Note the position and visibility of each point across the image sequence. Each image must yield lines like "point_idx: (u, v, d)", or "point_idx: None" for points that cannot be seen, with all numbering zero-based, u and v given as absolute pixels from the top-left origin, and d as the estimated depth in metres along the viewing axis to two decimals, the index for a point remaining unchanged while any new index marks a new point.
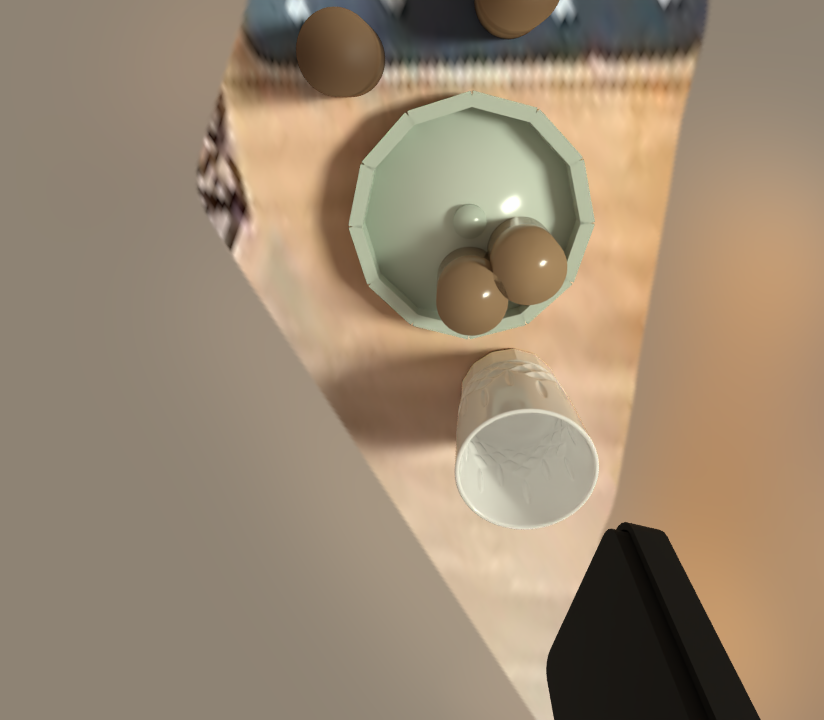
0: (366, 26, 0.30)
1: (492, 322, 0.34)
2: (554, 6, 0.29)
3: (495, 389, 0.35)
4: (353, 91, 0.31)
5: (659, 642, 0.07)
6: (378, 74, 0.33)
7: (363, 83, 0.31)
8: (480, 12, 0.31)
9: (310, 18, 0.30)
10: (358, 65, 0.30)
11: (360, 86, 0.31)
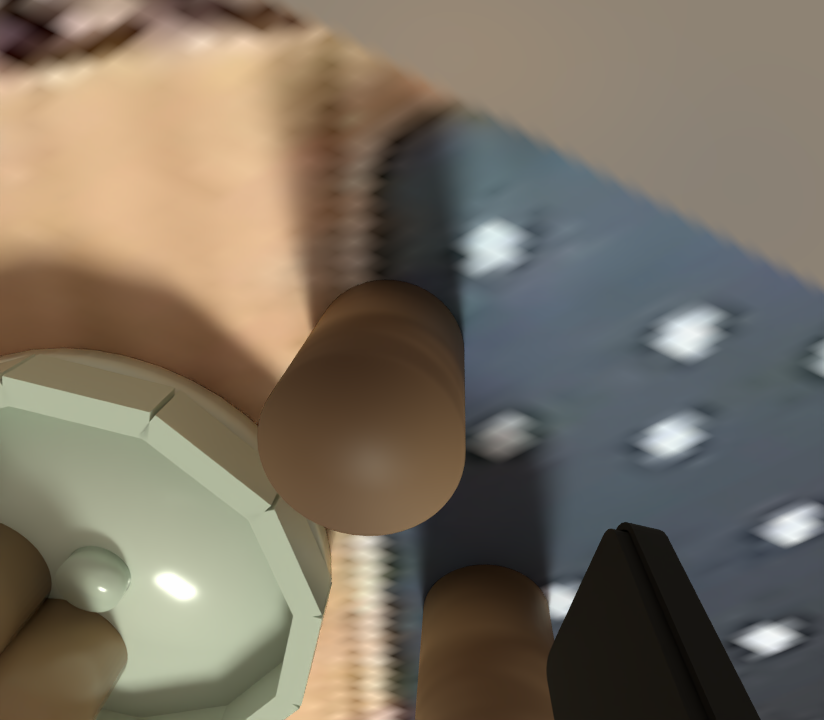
0: (420, 520, 0.12)
1: None
2: None
3: None
4: (274, 482, 0.12)
5: (659, 642, 0.07)
6: None
7: (293, 505, 0.12)
8: (456, 631, 0.17)
9: (440, 397, 0.11)
10: (334, 496, 0.12)
11: (287, 497, 0.12)
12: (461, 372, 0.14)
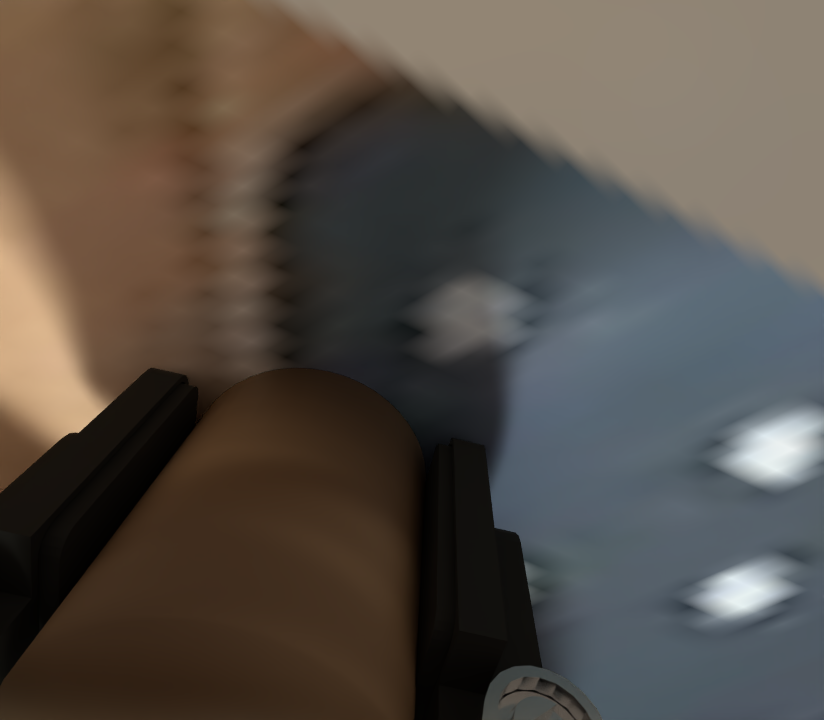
0: None
1: None
2: None
3: None
4: None
5: (440, 523, 0.08)
6: None
7: None
8: None
9: (355, 692, 0.05)
10: None
11: None
12: (413, 551, 0.08)
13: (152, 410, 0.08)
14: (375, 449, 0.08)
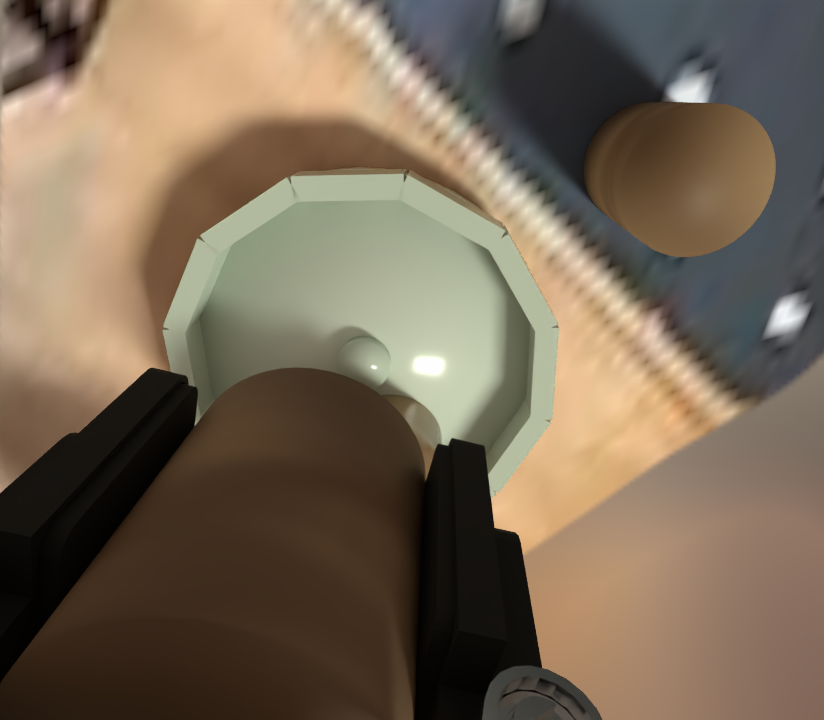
0: None
1: None
2: (700, 252, 0.17)
3: None
4: None
5: (440, 523, 0.08)
6: None
7: None
8: (604, 153, 0.19)
9: (354, 692, 0.05)
10: None
11: None
12: (413, 551, 0.08)
13: (152, 410, 0.08)
14: (375, 449, 0.08)
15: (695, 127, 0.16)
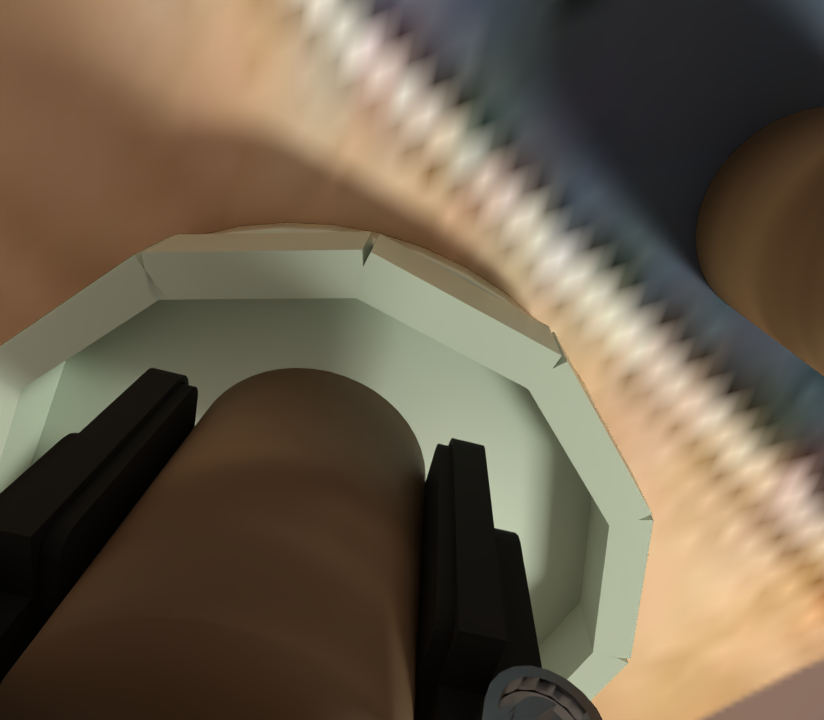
0: None
1: None
2: None
3: None
4: None
5: (440, 523, 0.08)
6: None
7: None
8: (770, 213, 0.09)
9: (354, 692, 0.05)
10: None
11: None
12: (413, 551, 0.08)
13: (152, 410, 0.08)
14: (375, 449, 0.08)
15: None
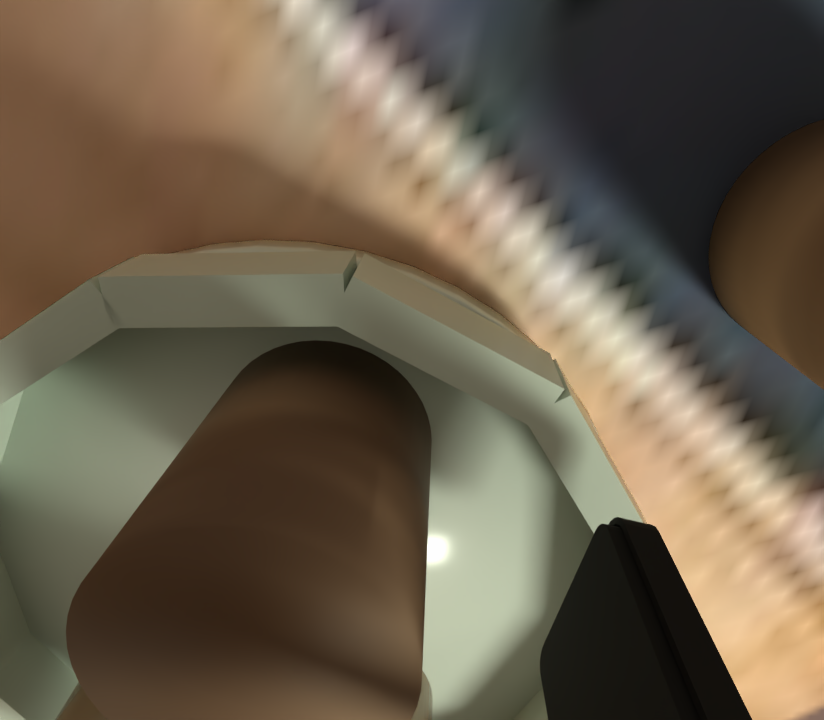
0: None
1: None
2: None
3: None
4: (106, 710, 0.07)
5: (649, 635, 0.07)
6: None
7: None
8: (796, 233, 0.08)
9: (375, 592, 0.06)
10: None
11: None
12: (422, 496, 0.09)
13: None
14: (387, 409, 0.09)
15: None
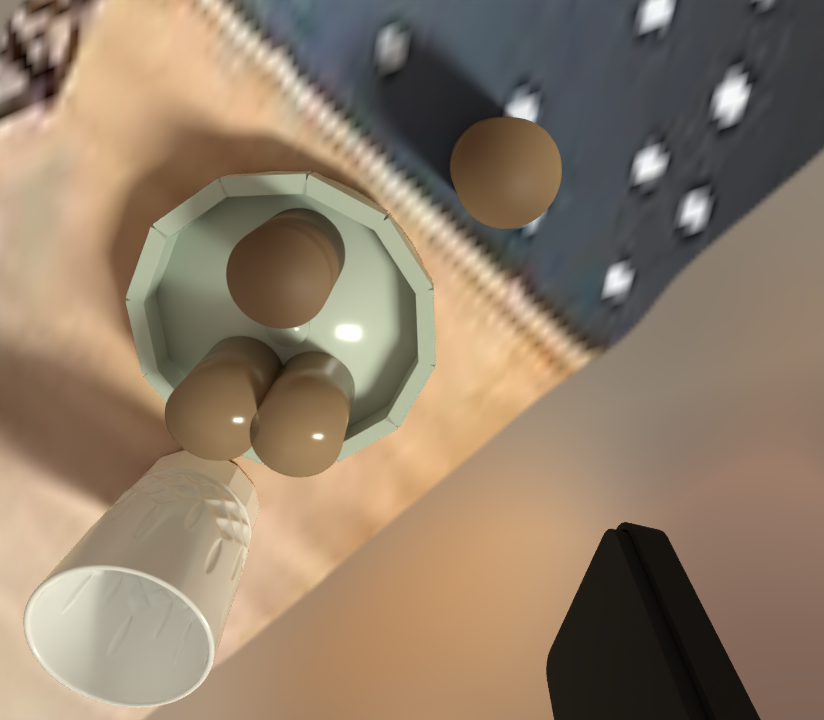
0: (311, 317, 0.24)
1: (218, 454, 0.26)
2: (517, 225, 0.23)
3: (166, 520, 0.27)
4: (235, 300, 0.24)
5: (659, 642, 0.07)
6: None
7: (246, 313, 0.24)
8: (453, 155, 0.25)
9: (314, 248, 0.23)
10: (266, 306, 0.24)
11: (242, 309, 0.24)
12: (335, 250, 0.25)
13: None
14: (323, 225, 0.26)
15: (501, 134, 0.22)
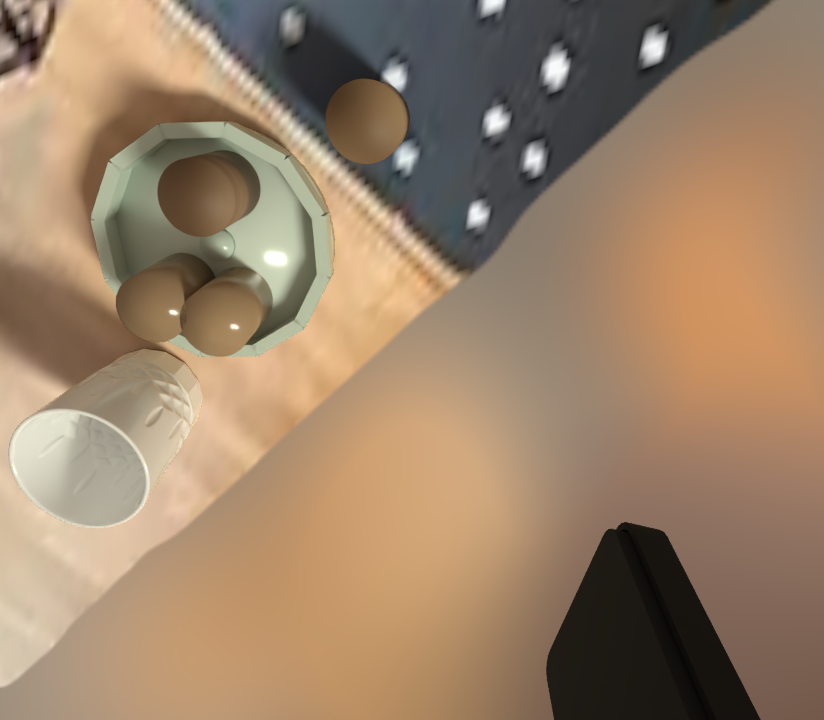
0: (221, 228, 0.32)
1: (156, 337, 0.35)
2: (374, 161, 0.31)
3: (118, 388, 0.35)
4: (165, 214, 0.32)
5: (659, 642, 0.07)
6: None
7: (173, 224, 0.32)
8: None
9: (221, 174, 0.31)
10: (188, 219, 0.32)
11: (170, 221, 0.32)
12: (245, 180, 0.33)
13: None
14: (238, 162, 0.34)
15: (358, 91, 0.30)
